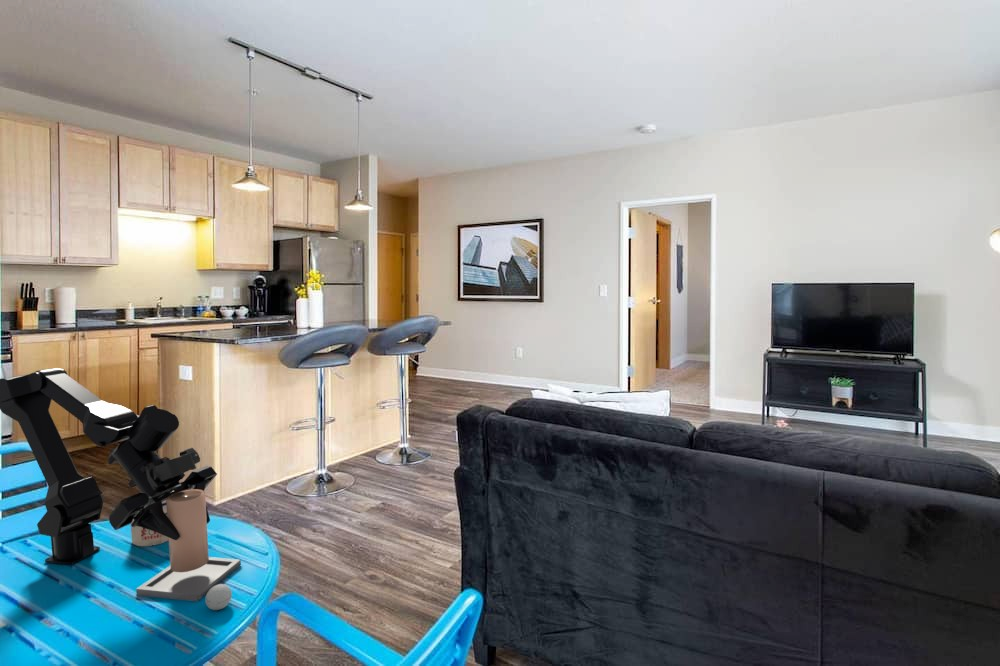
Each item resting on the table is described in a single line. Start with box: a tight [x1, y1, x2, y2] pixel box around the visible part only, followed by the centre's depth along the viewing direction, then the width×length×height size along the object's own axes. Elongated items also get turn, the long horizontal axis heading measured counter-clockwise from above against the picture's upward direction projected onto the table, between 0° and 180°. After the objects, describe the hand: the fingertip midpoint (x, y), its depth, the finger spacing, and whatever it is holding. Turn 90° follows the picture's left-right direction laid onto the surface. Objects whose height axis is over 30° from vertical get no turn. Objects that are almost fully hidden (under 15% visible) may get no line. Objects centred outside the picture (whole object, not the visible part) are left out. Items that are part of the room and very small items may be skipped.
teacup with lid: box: [130, 491, 173, 547], centre depth 117 cm, size 12×9×12 cm
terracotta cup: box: [166, 489, 210, 572], centre depth 99 cm, size 6×6×13 cm
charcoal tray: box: [135, 556, 242, 602], centre depth 100 cm, size 12×12×1 cm
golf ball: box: [204, 583, 233, 611], centre depth 91 cm, size 4×4×4 cm
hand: (193, 530), depth 99 cm, fingers closed on terracotta cup, 6 cm apart
